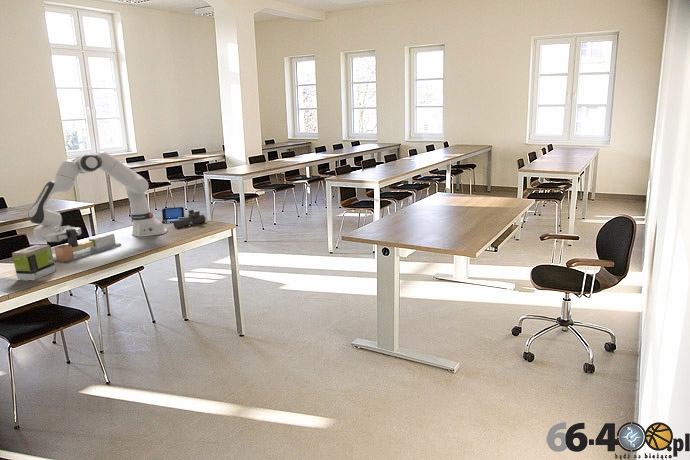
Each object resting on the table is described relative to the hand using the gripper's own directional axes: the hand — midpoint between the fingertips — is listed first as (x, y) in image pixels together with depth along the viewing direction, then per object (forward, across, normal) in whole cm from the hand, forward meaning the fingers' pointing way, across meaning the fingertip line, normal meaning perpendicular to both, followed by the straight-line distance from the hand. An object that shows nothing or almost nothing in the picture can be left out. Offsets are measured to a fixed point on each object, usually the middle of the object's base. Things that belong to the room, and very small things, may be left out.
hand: (72, 235), depth 298 cm
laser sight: (+11, +84, +13) cm, 86 cm away
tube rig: (-1, +9, +13) cm, 16 cm away
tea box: (+10, -31, +13) cm, 35 cm away
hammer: (-1, +5, +9) cm, 11 cm away
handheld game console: (-12, +93, +13) cm, 94 cm away
